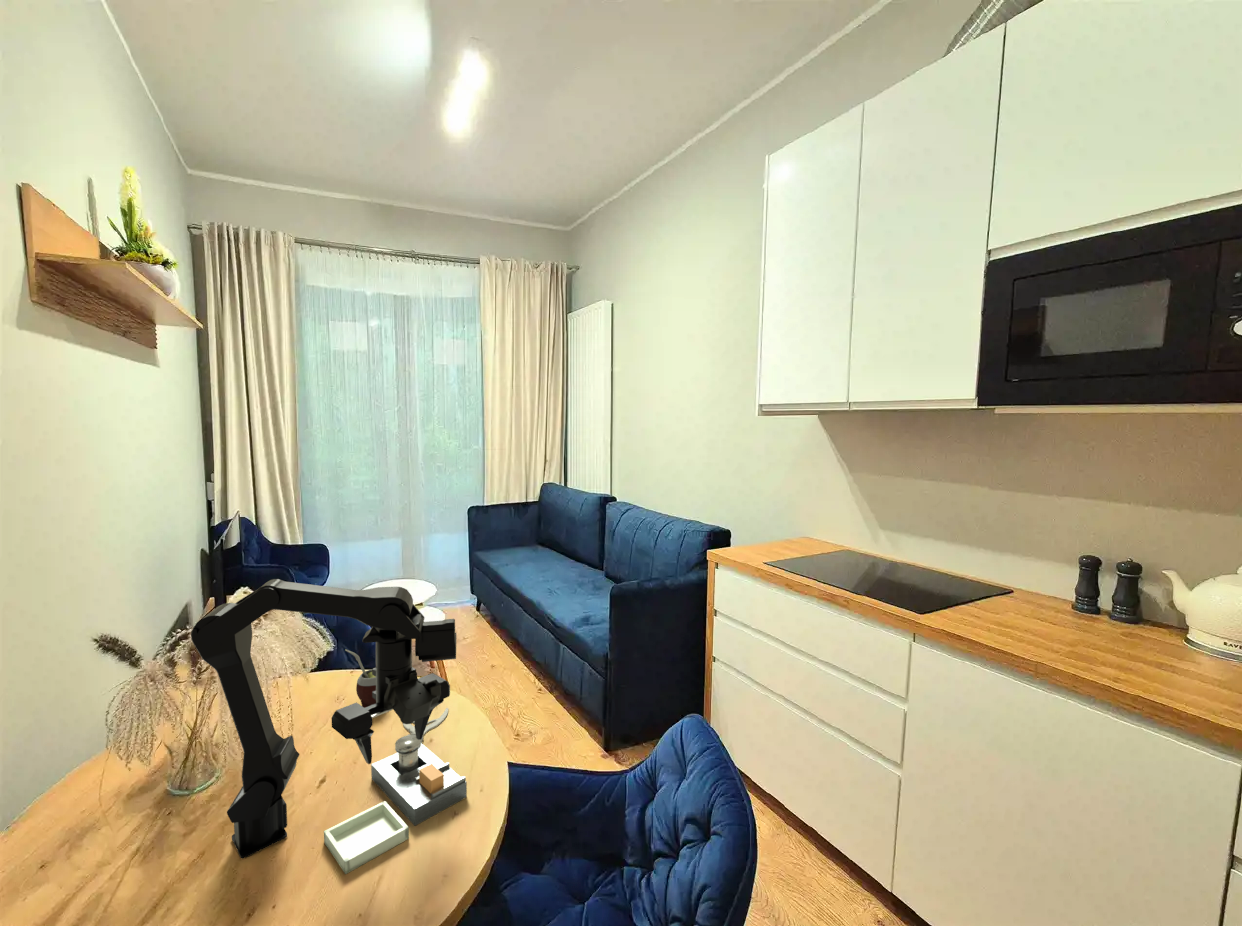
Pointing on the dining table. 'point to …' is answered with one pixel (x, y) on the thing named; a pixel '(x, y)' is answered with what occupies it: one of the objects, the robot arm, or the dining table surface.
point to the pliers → (429, 727)
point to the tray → (365, 836)
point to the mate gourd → (365, 684)
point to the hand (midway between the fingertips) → (394, 750)
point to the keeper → (431, 778)
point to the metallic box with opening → (418, 786)
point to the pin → (407, 753)
